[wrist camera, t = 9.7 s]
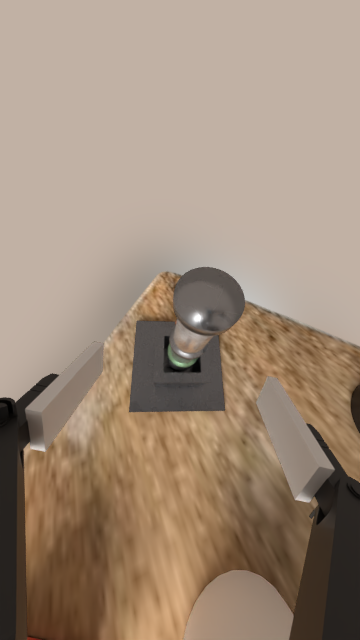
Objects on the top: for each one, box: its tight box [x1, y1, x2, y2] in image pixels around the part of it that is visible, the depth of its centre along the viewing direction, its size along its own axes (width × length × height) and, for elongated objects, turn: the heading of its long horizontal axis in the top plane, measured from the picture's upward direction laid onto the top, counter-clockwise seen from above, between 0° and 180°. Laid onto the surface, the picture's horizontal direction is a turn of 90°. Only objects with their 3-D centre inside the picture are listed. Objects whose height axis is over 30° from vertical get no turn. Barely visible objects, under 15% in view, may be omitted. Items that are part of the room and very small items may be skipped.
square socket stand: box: [129, 321, 225, 412], centre depth 36 cm, size 18×18×11 cm
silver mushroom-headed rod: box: [167, 267, 245, 371], centre depth 24 cm, size 5×5×22 cm
